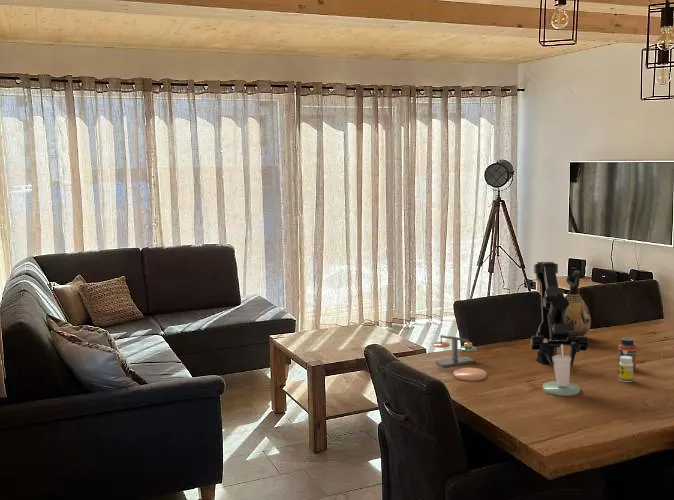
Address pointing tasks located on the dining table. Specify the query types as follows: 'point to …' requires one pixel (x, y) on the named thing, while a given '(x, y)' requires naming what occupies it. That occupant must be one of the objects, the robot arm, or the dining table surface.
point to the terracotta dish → (470, 374)
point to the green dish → (561, 389)
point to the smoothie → (562, 368)
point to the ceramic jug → (576, 308)
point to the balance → (455, 352)
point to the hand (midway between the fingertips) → (562, 365)
